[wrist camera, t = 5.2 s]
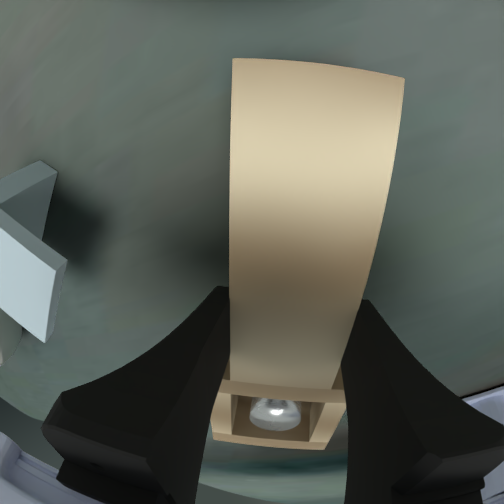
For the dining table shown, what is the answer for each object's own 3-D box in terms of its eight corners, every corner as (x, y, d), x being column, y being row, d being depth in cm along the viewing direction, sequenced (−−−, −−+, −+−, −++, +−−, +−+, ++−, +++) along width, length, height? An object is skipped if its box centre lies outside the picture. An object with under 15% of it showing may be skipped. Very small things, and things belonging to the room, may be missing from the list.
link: (323, 393, 18) (323, 449, 15) (225, 384, 19) (213, 439, 15) (394, 82, 9) (441, 88, 6) (225, 65, 10) (190, 59, 6)
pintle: (304, 364, 18) (303, 429, 14) (264, 367, 18) (255, 431, 14) (299, 335, 17) (297, 403, 13) (255, 339, 17) (244, 406, 13)
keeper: (120, 212, 14) (56, 271, 10) (94, 281, 17) (44, 343, 12) (40, 159, 13) (-34, 197, 9) (25, 231, 16) (-32, 278, 11)
